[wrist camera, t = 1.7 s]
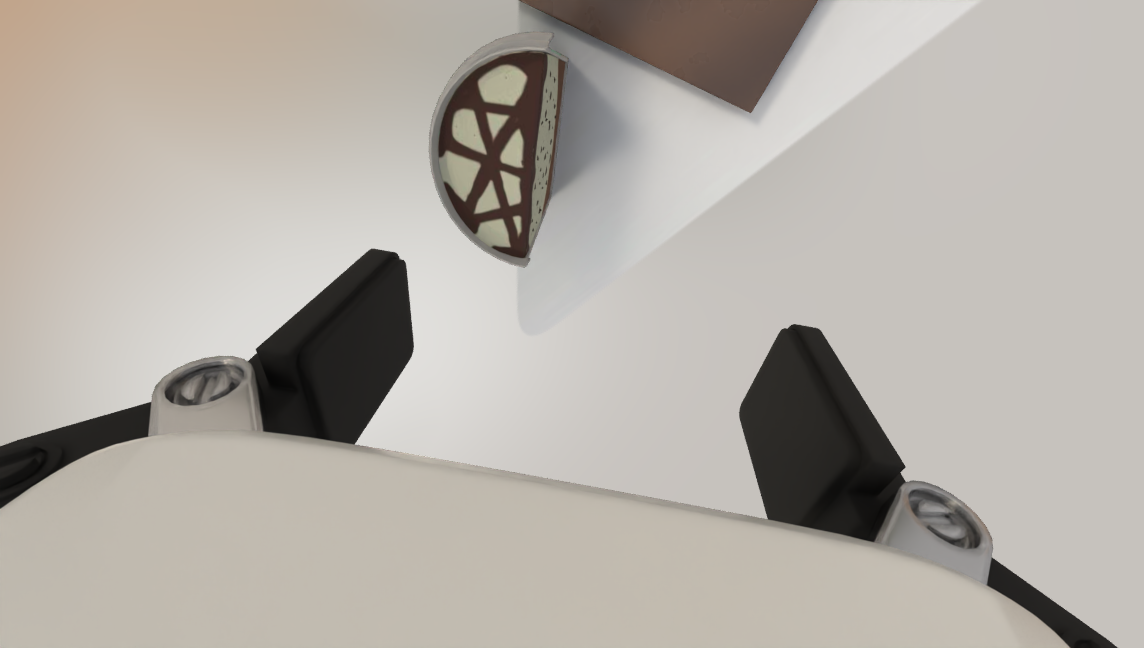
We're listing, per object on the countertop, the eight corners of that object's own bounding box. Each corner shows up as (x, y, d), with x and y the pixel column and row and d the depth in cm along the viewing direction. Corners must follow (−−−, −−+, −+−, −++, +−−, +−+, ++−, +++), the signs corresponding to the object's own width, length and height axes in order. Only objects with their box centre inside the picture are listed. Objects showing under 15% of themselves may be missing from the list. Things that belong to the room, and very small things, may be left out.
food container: (476, 13, 27) (410, 8, 19) (572, 31, 27) (547, 33, 19) (473, 201, 34) (424, 256, 26) (549, 215, 34) (523, 275, 26)
